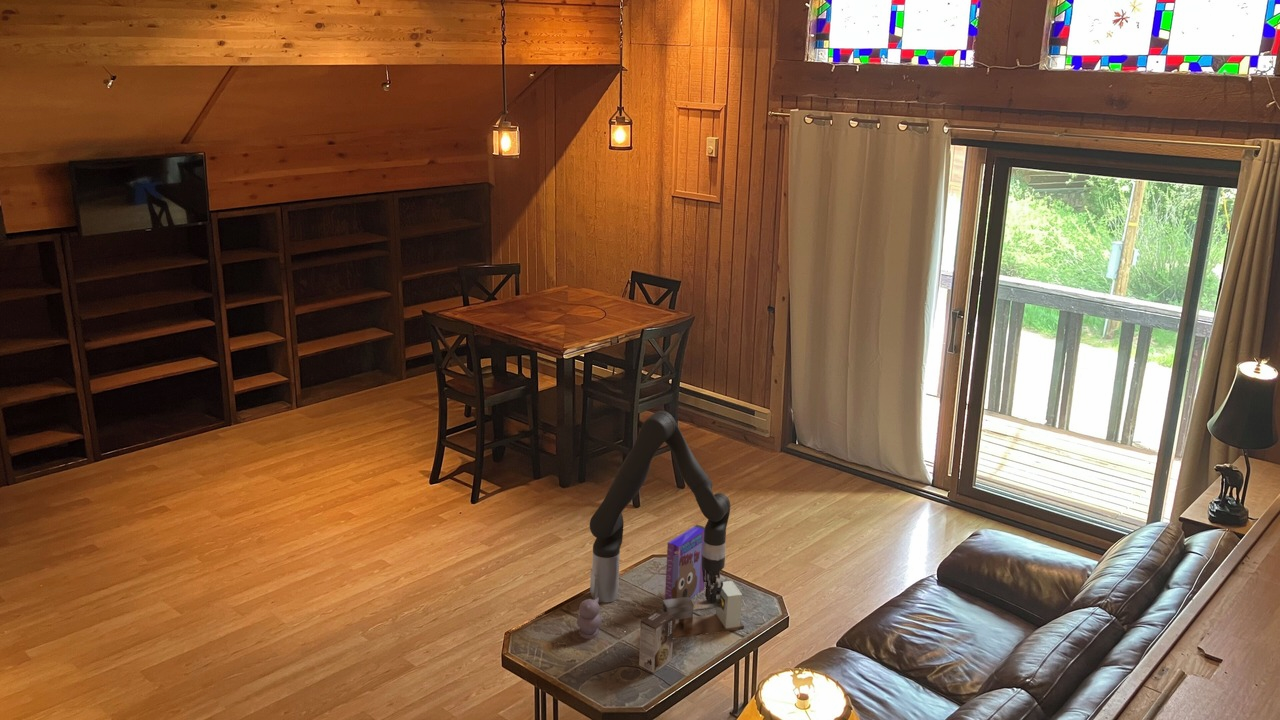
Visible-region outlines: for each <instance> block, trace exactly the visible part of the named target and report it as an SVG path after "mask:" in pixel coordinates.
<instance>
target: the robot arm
mask: <svg viewBox="0 0 1280 720" xmlns="http://www.w3.org/2000/svg"><path fill="white" fill-rule="evenodd" d="M664 443H665V444H666V445H667V446H668V447H669V449H670V451H671V453H672V455H673V457H674V459H675V463H676V466H677V469H678V471H679V474H680V476H681V479H682V480H683V481H684V483H686V485H687V487H688V488H689V489H690V490H691V492H692V494H693V495H694V497H695V500H696V503H697V505H698V507H699V510H700V511H701V513H702V514H703V516H704V517H705V518H706V519H707V522H706V524H705V526H704V527H705V530H704V542H703V548H702V573H703V582H705V586H704V588H705V590H704V592H705V594H704V597H705V598H706V591H707V585H708V586H709V587H710V598H709V602H710V604H714V603H716V599H717V595H720V593H721V590H722V587H723V582H724V581H721V579H720V578H721V573H720V572H721V571H722V570H723V569H725V565H726V550H727V549H726V547H727V546H726V538H727V526H728V523H729V518H730V512H731V501H730V499H729V497H728V496H727V495H726V494H724V493H721V492H717V493H715V494H714V492H713V490H712V488H713V482H712V480H711V478H710V477H709V476H708V474H707V473H706V472H705V470H704V468H702V466H701V464H700V463H699V461H698V460H697V459H696V457H695V455H694V454H693V451H692V450H691V448H690V447H689V444H688V443H687V441H686V439H685V437H684V435H683V433H682V431H681V429H680V427H679V425H678V423H677V421H676V419H675V418H674V417H673V416H672V414H670V412H668V411H666V410H659V411H656V412H653V414H651V415H650V416H649V417H647V418H646V419H645V420H644V422H643V423H642V424H641V427H640V429H639V431H638V434H637V437H636V440H635V442H634V445H633V446H632V448H631V450H630V451H629V453H628V454H627V455H626V457H625V459H624V460H623V463H622V464H621V465H620V467H619V469H618V470H617V473H616V474H615V477H614V479H613V480H612V483H611V485H610V487H609V488H608V491H607V492H606V494H605V498H604V499H603V500H602V502H601V504H599V507H598V508H597V510H596V511H595V512H594V514H592V516H591V517H590V520H589V530H590V533H591V534H592V536H593V537H595V538H596V539H595V540H594V541H593V544H592V568H591V569H590V582H589V583H590V586H589V587H590V589H589V591H590V596H591V597H592V598H591V599H593V600H595V599H597V598H599V600H598V603H604V604H605V603H607V604H608V603H611V602H615V601H617V599H618V598H619V591H620V590H619V581H620V555H621V553H620V552H621V551H620V549H621V547H622V544H623V535H624V526H625V525H624V516H623V511H624V510H625V508H626V507H627V506H628V505H630V503H631V502H632V500H633V499H634V498H635V497H636V495H637V494H638V493H639V492H640V490H641V488H642V487H643V485H644V483H645V482H646V479H647V477H648V475H649V471H650V468H651V462H652V460H653V458H654V456H655V455H656V453H657V452H658V450H659V449H660V447H662V445H664ZM712 588H713V590H712Z"/></svg>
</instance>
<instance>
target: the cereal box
mask: <svg viewBox="0 0 1280 720" xmlns="http://www.w3.org/2000/svg"><path fill="white" fill-rule="evenodd" d="M704 530H705V526H703V525H698V524H696V525H694V526H693V527H691V528H689V529H687V530H685V531H684V532H683V533H681V534H680V535H677V536H676V537H674V538H673V539H671V540H669V541H668V542H667V549H666V550H667V551H666V567H665V569H666V570H665V587H664V588H665V589H664V590H665V592H664V594H665V595H664V600H667V599H675V598H683V597H689V598H690V599H691V600H692V599H693V598H695V597H696V596H697V595H698V593H699V594H700V593H701V592H703V591H705V582H703V573H702V548H703V542H704ZM702 590H703V591H702ZM695 595H696V596H695Z"/></svg>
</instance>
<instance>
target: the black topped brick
mask: <svg viewBox="0 0 1280 720" xmlns="http://www.w3.org/2000/svg"><path fill="white" fill-rule="evenodd" d="M712 590H713V588H712ZM705 591H706V590H705ZM709 598H710V587H709V586H708V585H707V591H706V597H705V599H704V600H695V601H692V602H693V604H694V607H693V612H696V611H697V612H700V611H705V610H712V609H713V610H715V609H716V608H721V607H724V606H725V600H724V598H718V599H716V603H714V604H710V602H709Z"/></svg>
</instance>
